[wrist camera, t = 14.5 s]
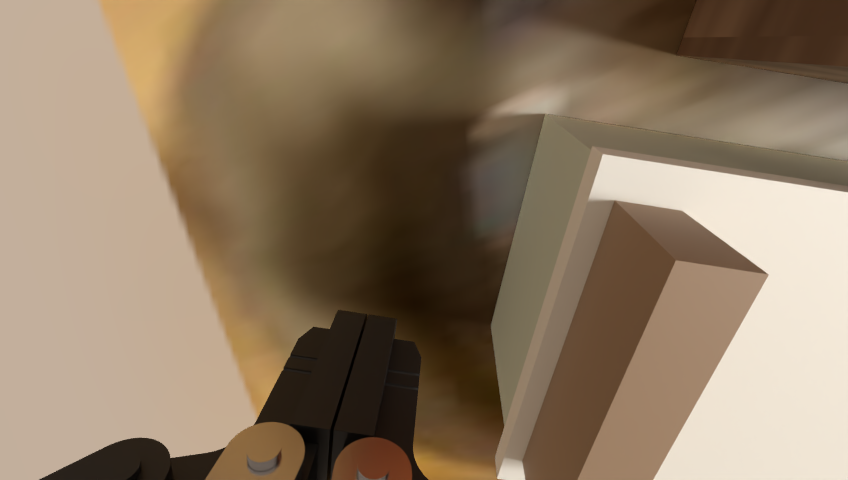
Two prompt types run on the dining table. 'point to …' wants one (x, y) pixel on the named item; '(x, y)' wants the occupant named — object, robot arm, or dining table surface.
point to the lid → (689, 330)
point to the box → (554, 199)
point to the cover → (772, 35)
